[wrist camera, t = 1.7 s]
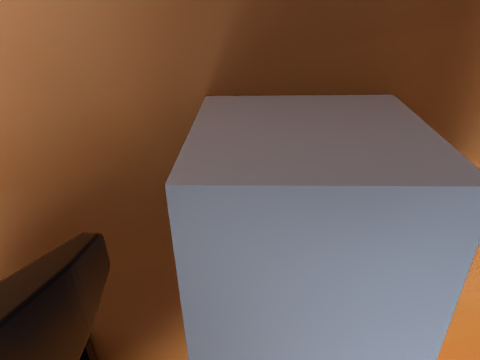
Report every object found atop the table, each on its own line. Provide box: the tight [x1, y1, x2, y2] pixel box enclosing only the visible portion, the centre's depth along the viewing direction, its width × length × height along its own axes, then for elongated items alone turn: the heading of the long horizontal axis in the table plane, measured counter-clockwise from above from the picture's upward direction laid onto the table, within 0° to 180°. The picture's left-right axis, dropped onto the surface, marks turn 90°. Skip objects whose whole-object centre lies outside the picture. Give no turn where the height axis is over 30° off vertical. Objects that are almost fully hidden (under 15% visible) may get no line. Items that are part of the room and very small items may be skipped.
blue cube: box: [165, 95, 480, 360], centre depth 9 cm, size 5×5×5 cm
